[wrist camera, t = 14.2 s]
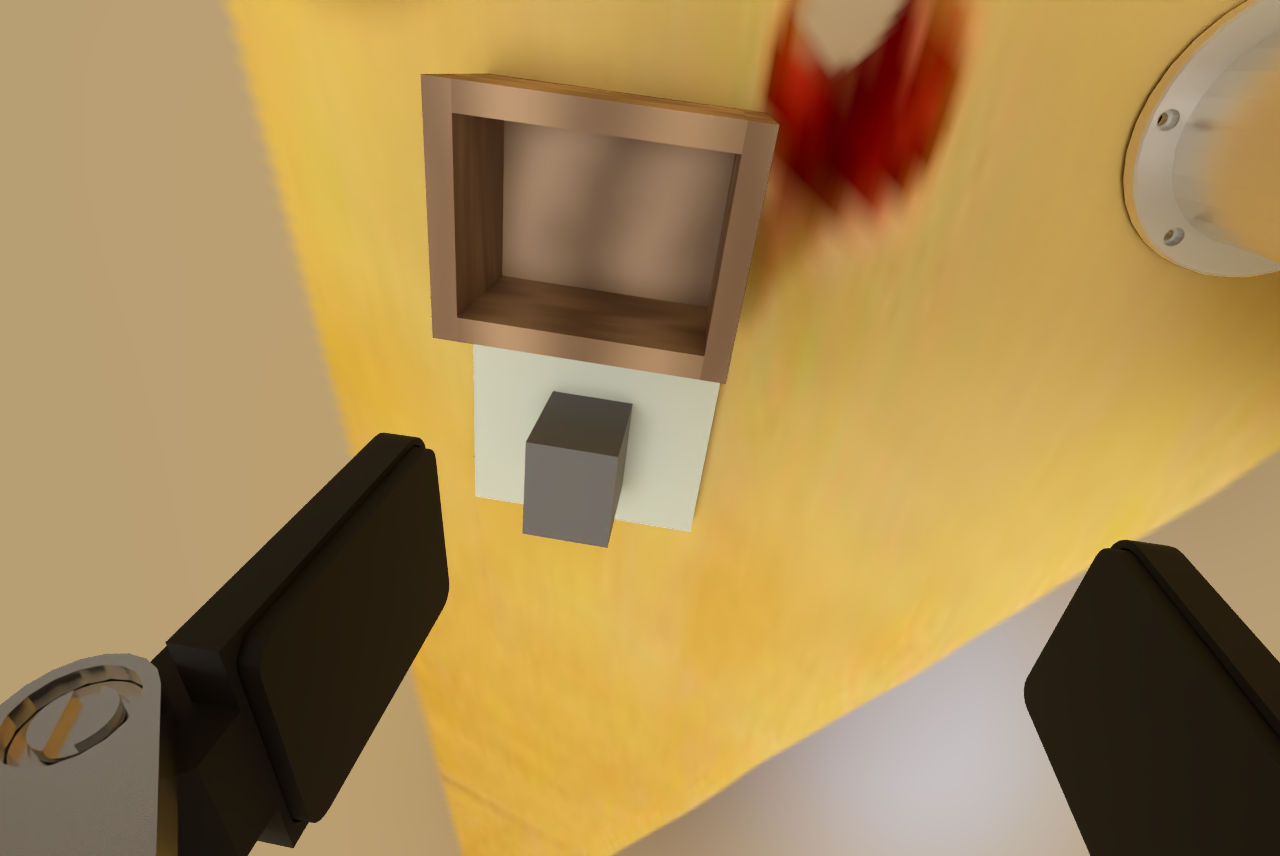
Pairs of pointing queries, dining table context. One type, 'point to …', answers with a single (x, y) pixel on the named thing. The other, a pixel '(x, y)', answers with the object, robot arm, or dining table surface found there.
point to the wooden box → (591, 221)
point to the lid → (588, 443)
